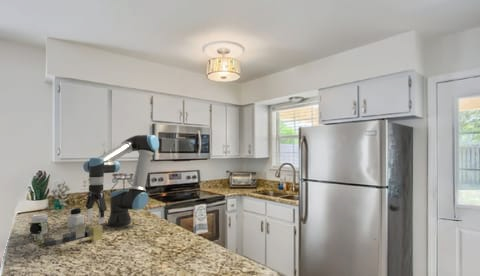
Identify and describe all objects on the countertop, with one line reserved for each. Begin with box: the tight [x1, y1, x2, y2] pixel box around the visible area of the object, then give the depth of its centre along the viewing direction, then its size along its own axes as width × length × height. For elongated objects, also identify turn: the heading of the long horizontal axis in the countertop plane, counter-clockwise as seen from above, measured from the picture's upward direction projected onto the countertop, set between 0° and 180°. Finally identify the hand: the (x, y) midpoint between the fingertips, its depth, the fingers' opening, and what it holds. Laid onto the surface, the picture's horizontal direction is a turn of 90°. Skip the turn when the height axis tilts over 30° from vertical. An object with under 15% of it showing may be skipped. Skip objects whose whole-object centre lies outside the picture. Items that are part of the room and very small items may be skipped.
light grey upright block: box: [71, 222, 86, 240], centre depth 163 cm, size 5×5×8 cm
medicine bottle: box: [66, 207, 85, 229], centre depth 188 cm, size 7×7×12 cm
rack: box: [43, 228, 89, 247], centre depth 159 cm, size 22×9×3 cm, turn 143°
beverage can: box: [30, 213, 49, 237], centre depth 171 cm, size 8×8×12 cm
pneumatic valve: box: [29, 219, 49, 241], centre depth 160 cm, size 6×12×12 cm, turn 15°
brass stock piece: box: [88, 224, 103, 242], centre depth 158 cm, size 5×5×8 cm
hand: (95, 221), depth 158 cm, fingers open, 13 cm apart
